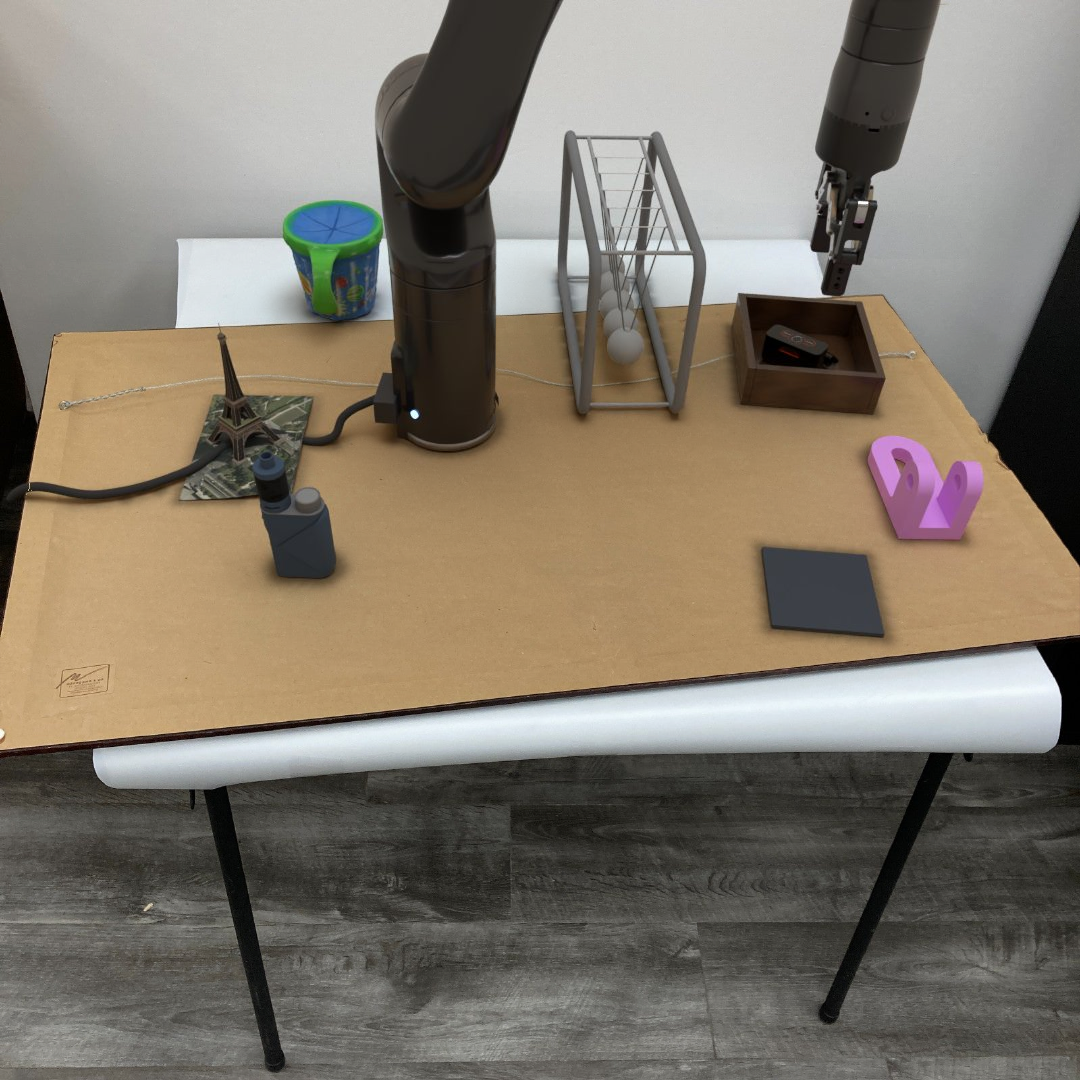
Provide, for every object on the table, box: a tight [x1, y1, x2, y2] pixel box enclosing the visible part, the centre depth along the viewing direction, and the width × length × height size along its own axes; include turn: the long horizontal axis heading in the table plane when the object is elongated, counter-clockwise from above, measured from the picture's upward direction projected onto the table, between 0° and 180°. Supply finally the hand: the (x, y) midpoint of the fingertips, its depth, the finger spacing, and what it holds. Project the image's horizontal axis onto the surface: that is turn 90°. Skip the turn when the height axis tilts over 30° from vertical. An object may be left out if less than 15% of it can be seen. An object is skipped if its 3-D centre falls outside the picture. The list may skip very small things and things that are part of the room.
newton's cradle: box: [557, 129, 707, 415], centre depth 102 cm, size 30×10×18 cm, turn 3°
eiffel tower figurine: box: [178, 322, 314, 501], centre depth 88 cm, size 15×10×13 cm
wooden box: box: [730, 292, 887, 415], centre depth 104 cm, size 14×15×4 cm
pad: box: [761, 546, 886, 638], centre depth 82 cm, size 9×9×1 cm
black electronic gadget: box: [761, 325, 839, 369], centre depth 104 cm, size 5×7×3 cm, turn 52°
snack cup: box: [282, 199, 384, 322], centre depth 107 cm, size 16×10×10 cm
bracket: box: [867, 435, 985, 541], centre depth 89 cm, size 13×6×7 cm, turn 1°
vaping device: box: [252, 451, 337, 579], centre depth 77 cm, size 3×5×12 cm, turn 88°
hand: (825, 271), depth 97 cm, fingers open, 8 cm apart
